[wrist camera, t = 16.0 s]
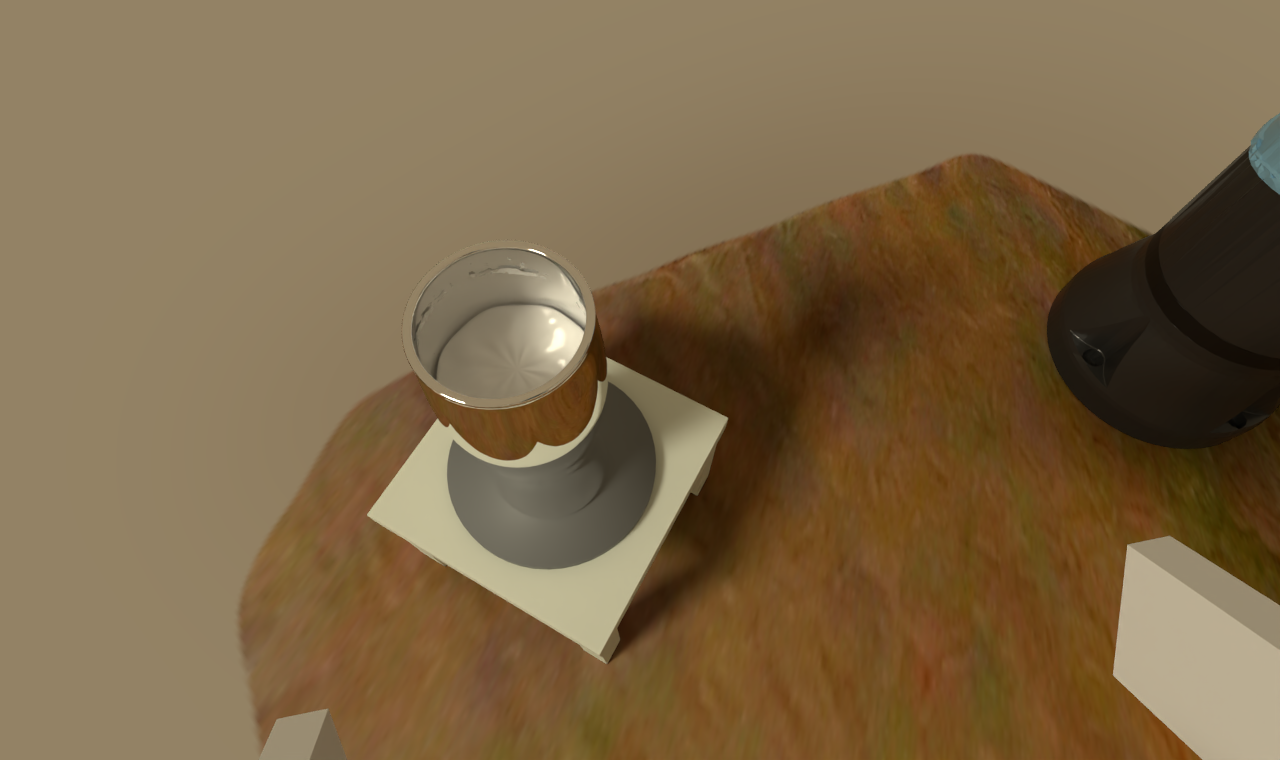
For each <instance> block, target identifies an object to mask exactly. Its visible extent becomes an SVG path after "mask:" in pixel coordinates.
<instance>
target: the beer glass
mask: <svg viewBox="0 0 1280 760" xmlns="http://www.w3.org/2000/svg"><path fill="white" fill-rule="evenodd" d="M402 343H403V348H404V352H405V355H406V358H407V360H408V362H409V364H410V366H411V368H412V369H413V371H414V372H415V374H416V377H417V379H418V381H419V384H420V386H421V388H422V390H423V392H424V394H425V397H426V399H427V401H428V403H429V404H430V406H431V408H432V410H433V411H434V413H435V415H436V416H437V418H438V420H439V421H440V423H441V424H442V425H443V427H444V428H445V429H446V431H447V432H448V433H449V434H450V436H451V437H452V438H453V439H454V441H455V442H456V443H457V444H458V445H459V446H460V447H461V448H463V449H464V450H465V451H466V452H467V453H469V454H470V455H471V456H472V457H473V458H475V459H476V460H477V461H479V462H480V463H482V464H483V465H485V466H487V467H488V468H490V469H491V470H492V475H493V479H494V483H495V485H496V488H497V490H498V492H499V494H500V495H501V497H502V498H503V499H504V500H505V501H506V502H507V503H508V504H509V505H510V506H511V507H513V508H514V509H515V510H517V511H519V512H521V513H523V514H525V515H527V516H530V517H534V518H539V519H555V518H561V517H565V516H568V515H570V514H573V513H575V512H577V511H578V510H580V509H582V508H583V507H584V506H586V505H587V504H588V503H589V502H590V501H591V500H592V499H593V498H594V497H595V496H596V494H597V493H598V492H599V490H600V488H601V487H602V485H603V482H604V480H605V477H606V474H607V469H608V454H607V449H606V445H605V442H604V440H603V437H602V435H601V434H600V432H599V428H600V425H601V422H602V418H603V415H604V410H605V404H606V399H607V392H608V371H607V359H606V353H605V347H604V341H603V337H602V333H601V329H600V325H599V322H598V318H597V315H596V311H595V304H594V299H593V296H592V293H591V290H590V288H589V286H588V284H587V282H586V281H585V279H584V277H583V276H582V275H581V273H580V272H579V271H578V270H577V268H576V267H575V266H574V265H573V264H572V263H570V262H569V261H568V260H567V259H565V258H564V257H563V256H561V255H560V254H558V253H556V252H555V251H552V250H550V249H548V248H546V247H543V246H540V245H537V244H533V243H530V242H524V241H517V240H497V241H489V242H483V243H479V244H476V245H472V246H469V247H466V248H464V249H461V250H459V251H457V252H455V253H453V254H451V255H449V256H448V257H446V258H445V259H443V260H442V261H440V262H439V263H438V264H436V265H435V266H434V267H433V268H432V269H431V270H429V272H428V273H426V274H425V276H424V277H423V278H422V279H421V280H420V281H419V283H418V284H417V286H416V287H415V289H414V290H413V292H412V294H411V296H410V298H409V300H408V302H407V305H406V307H405V311H404V314H403V319H402Z"/></svg>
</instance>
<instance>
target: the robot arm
mask: <svg viewBox="0 0 1280 760" xmlns="http://www.w3.org/2000/svg"><path fill="white" fill-rule="evenodd" d="M1047 337H1048V344H1049V348H1050V352H1051V355H1052V358H1053V361H1054V363H1055V366H1056V368H1057V370H1058V372H1059V374H1060V375H1061V377H1062V379H1063V380H1064V382H1065V383H1066V385H1067V386H1068V387H1069V389H1070V390H1071V391H1072V392H1073V394H1074V395H1075V396H1076V397H1077V398H1078V399H1079V400H1080V401H1081V402H1082V403H1083V404H1084V405H1085V406H1086V407H1087V408H1088V409H1089V410H1090V411H1091V412H1093V413H1094V414H1095V415H1096V416H1098V417H1099V418H1100V419H1102V420H1103V421H1105V422H1106V423H1108V424H1109V425H1111V426H1112V427H1114V428H1116V429H1118V430H1120V431H1121V432H1123V433H1125V434H1127V435H1130V436H1132V437H1134V438H1137V439H1139V440H1142V441H1145V442H1148V443H1152V444H1155V445H1160V446H1164V447H1171V448H1180V449H1195V448H1204V447H1210V446H1214V445H1217V444H1221V443H1223V442H1226V441H1228V440H1230V439H1232V438H1234V437H1236V436H1238V435H1240V434H1242V433H1245V432H1247V431H1249V430H1251V429H1252V428H1254V427H1256V426H1257V425H1259V424H1260V423H1262V422H1263V421H1264V420H1265V419H1267V418H1268V417H1269V416H1270V415H1271V414H1272V413H1273V412H1274V411H1275V410H1276V408H1277V407H1278V406H1279V405H1280V113H1279V114H1278V115H1276V116H1275V117H1273V118H1272V119H1270V120H1269V121H1268V122H1267V123H1266V124H1264V125H1263V127H1262V128H1261V129H1260V130H1259V131H1258V132H1257V133H1256V135H1255V136H1254V138H1253V139H1252V140H1251V146H1249V147H1248V148H1247V149H1246V150H1245V151H1244V152H1243V153H1242V154H1241V155H1240V156H1239V157H1238V158H1236V159H1235V160H1234V161H1233V162H1232V163H1231V164H1230V165H1229V166H1228V167H1227V168H1226V169H1224V170H1223V171H1222V172H1221V173H1220V174H1219V175H1218V176H1217V177H1216V178H1215V179H1214V180H1212V181H1211V182H1210V183H1209V184H1208V185H1207V186H1206V187H1205V188H1204V189H1203V190H1202V191H1201V192H1199V193H1198V194H1197V195H1196V196H1195V197H1194V198H1193V199H1192V200H1191V201H1190V202H1189V203H1188V204H1187V205H1185V206H1184V207H1183V208H1182V209H1181V210H1180V211H1179V212H1178V213H1177V214H1176V215H1175V216H1173V218H1172V219H1171V220H1170V221H1169V222H1168V223H1167V224H1166V225H1164V226H1163V227H1162V228H1161V229H1160V230H1159V231H1158V232H1157V233H1155V234H1153V235H1151V236H1148V237H1146V238H1144V239H1141V240H1139V241H1137V242H1135V243H1132V244H1130V245H1128V246H1126V247H1123V248H1121V249H1119V250H1117V251H1115V252H1113V253H1111V254H1108V255H1105V256H1103V257H1101V258H1099V259H1097V260H1095V261H1093V262H1092V263H1090V264H1089V265H1087V266H1086V267H1084V268H1083V269H1082V270H1081V271H1079V272H1078V273H1077V274H1076V275H1075V276H1074V277H1073V278H1072V280H1071V281H1070V282H1069V283H1068V284H1067V285H1066V286H1065V287H1064V288H1063V289H1062V290H1061V291H1060V292H1059V294H1058V295H1057V297H1056V298H1055V300H1054V302H1053V304H1052V306H1051V309H1050V312H1049V317H1048V323H1047ZM1113 676H1114V677H1115V678H1116V679H1117V680H1118V681H1120V682H1121V683H1122V684H1123V685H1124V686H1125V687H1126V688H1127V689H1128V690H1129V691H1130V692H1131V693H1132V694H1133V695H1134V696H1135V697H1137V698H1138V699H1139V700H1140V701H1141V702H1142V703H1143V704H1144V705H1145V706H1146V707H1147V708H1148V709H1149V710H1150V711H1151V712H1153V713H1154V714H1155V715H1156V716H1157V717H1158V718H1159V719H1160V720H1161V721H1162V722H1163V723H1164V724H1165V725H1166V726H1167V727H1168V728H1170V729H1171V730H1172V731H1173V732H1174V733H1175V734H1176V735H1177V736H1178V737H1179V738H1180V739H1181V740H1182V741H1183V742H1184V743H1186V744H1187V745H1188V746H1189V747H1190V748H1191V749H1192V750H1193V751H1194V752H1195V753H1196V754H1197V755H1198V756H1199V757H1200V758H1201V759H1203V760H1280V605H1278V604H1277V603H1275V602H1273V601H1272V600H1270V599H1269V598H1267V597H1265V596H1264V595H1262V594H1261V593H1259V592H1258V591H1256V590H1254V589H1253V588H1251V587H1250V586H1248V585H1247V584H1245V583H1243V582H1242V581H1240V580H1239V579H1237V578H1235V577H1234V576H1232V575H1231V574H1229V573H1228V572H1226V571H1224V570H1223V569H1221V568H1220V567H1218V566H1217V565H1215V564H1213V563H1212V562H1210V561H1209V560H1207V559H1205V558H1204V557H1202V556H1201V555H1199V554H1198V553H1196V552H1194V551H1193V550H1191V549H1190V548H1188V547H1187V546H1185V545H1183V544H1182V543H1180V542H1179V541H1177V540H1175V539H1174V538H1172V537H1171V536H1167V537H1162V538H1157V539H1153V540H1148V541H1143V542H1138V543H1133V544H1128V545H1127V554H1126V563H1125V572H1124V581H1123V590H1122V599H1121V608H1120V617H1119V626H1118V635H1117V644H1116V653H1115V662H1114V671H1113ZM259 760H347V758H346V756H345V753H344V750H343V747H342V745H341V742H340V739H339V736H338V734H337V731H336V728H335V725H334V723H333V720H332V717H331V715H330V712H329V709H324V710H319V711H314V712H309V713H304V714H300V715H295V716H290V717H285V718H280V719H277V720H276V722H275V724H274V727H273V729H272V731H271V733H270V736H269V738H268V740H267V742H266V744H265V747H264V749H263V751H262V753H261V756H260V758H259Z"/></svg>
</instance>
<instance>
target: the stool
mask: <svg viewBox="0 0 1280 760" xmlns="http://www.w3.org/2000/svg"><path fill="white" fill-rule="evenodd" d="M606 359H607V371H608V392H607V399H606V404H605V410H604V415H603V418H602V422H601V425H600V428H599V432H600V434H601V435H602V437H603V440H604V442H605V445H606V449H607V454H608V469H607V474H606V477H605V480H604V482H603V485H602V487H601V488H600V490H599V492H598V493H597V494H596V496H595V497H594V498H593V499H592V500H591V501H590V502H589V503H588V504H587V505H586V506H584V507H583V508H582V509H580V510H578V511H577V512H575V513H573V514H570V515H568V516H565V517H561V518H555V519H539V518H534V517H530V516H527V515H525V514H523V513H521V512H519V511H517V510H515V509H514V508H513V507H511V506H510V505H509V504H508V503H507V502H506V501H505V500H504V499H503V498H502V497H501V495H500V494H499V492H498V490H497V488H496V485H495V483H494V479H493V475H492V470H491V469H490V468H488V467H487V466H485V465H483V464H482V463H480V462H479V461H477V460H476V459H475V458H473V457H472V456H471V455H470V454H469V453H467V452H466V451H465V450H464V449H463V448H461V447H460V446H459V445H458V444H457V443H456V442H455V441H454V439H453V438H452V437H451V436H450V434H449V433H448V432H447V431H446V429H445V428H444V427H443V425H442V424H441V423H440V421H439V420H438V419H437V420H436V421H435V423H434V424H433V426H432V427H431V428H430V430H429V431H428V432H427V434H426V435H425V436H424V438H423V439H422V441H421V442H420V443H419V445H418V446H417V447H416V449H415V450H414V451H413V453H412V454H411V456H410V457H409V458H408V460H407V461H406V462H405V464H404V465H403V466H402V468H401V469H400V471H399V472H398V473H397V475H396V476H395V477H394V479H393V480H392V481H391V483H390V484H389V486H388V487H387V488H386V490H385V491H384V492H383V494H382V495H381V496H380V498H379V499H378V501H377V502H376V503H375V505H374V506H373V507H372V509H371V510H370V511H369V513H368V514H367V516H369V517H370V518H371V519H373V520H374V521H375V522H377V523H378V524H380V525H382V526H383V527H385V528H387V529H388V530H390V531H392V532H393V533H395V534H397V535H398V536H400V537H402V538H403V539H405V540H407V541H408V542H410V543H411V544H412V545H414V546H415V547H416V548H418V549H419V550H420V551H421V552H423V553H424V554H425V555H427V556H429V557H430V558H432V559H434V560H435V561H437V562H439V563H440V564H442V565H444V566H446V565H448V566H450V567H451V568H453V569H455V570H456V571H458V572H460V573H461V574H463V575H465V576H466V577H468V578H470V579H471V580H473V581H475V582H476V583H478V584H480V585H481V586H483V587H485V588H486V589H488V590H490V591H491V592H493V593H495V594H496V595H498V596H500V597H501V598H503V599H505V600H506V601H508V602H509V603H511V604H513V605H514V606H516V607H518V608H519V609H521V610H523V611H524V612H526V613H528V614H529V615H531V616H533V617H534V618H536V619H538V620H539V621H541V622H543V623H544V624H546V625H548V626H549V627H551V628H553V629H554V630H556V631H558V632H559V633H561V634H563V635H564V636H566V637H568V638H569V639H571V640H573V641H574V642H576V643H577V644H579V645H580V646H581V647H582V648H583V649H584V651H586V652H588V653H589V654H591V655H593V656H594V657H596V658H598V659H599V660H601V661H603V662H604V663H606V664H608V662H609V660H610V658H611V656H612V654H613V652H614V651H615V649H616V647H617V645H618V643H619V641H620V637H619V633H618V629H617V627H618V625H619V624H620V622H621V620H622V618H623V616H624V614H625V613H626V611H627V609H628V607H629V605H630V603H631V601H632V600H633V598H634V596H635V594H636V592H637V590H638V589H639V587H640V585H641V583H642V581H643V579H644V578H645V576H646V574H647V572H648V570H649V568H650V566H651V565H652V563H653V561H654V559H655V557H656V555H657V554H658V552H659V550H660V548H661V546H662V544H663V542H664V541H665V539H666V537H667V535H668V533H669V531H670V530H671V528H672V526H673V524H674V522H675V520H676V518H677V517H678V515H679V513H680V511H681V509H682V507H683V506H684V504H685V502H686V500H687V498H688V496H689V494H690V493H693V494H695V495H697V496H698V494H699V492H700V490H701V488H702V486H703V485H704V483H705V481H706V479H707V477H708V475H709V471H710V467H711V464H712V460H713V456H714V452H715V449H716V445H717V443H718V441H719V439H720V437H721V435H722V434H723V432H724V430H725V428H726V424H727V421H728V418H727V417H725V416H723V415H721V414H719V413H717V412H715V411H713V410H711V409H709V408H707V407H705V406H703V405H701V404H699V403H697V402H695V401H693V400H691V399H689V398H687V397H685V396H683V395H681V394H679V393H677V392H675V391H673V390H671V389H669V388H667V387H665V386H663V385H661V384H659V383H657V382H655V381H653V380H651V379H649V378H647V377H645V376H643V375H641V374H639V373H637V372H635V371H633V370H631V369H629V368H627V367H625V366H623V365H621V364H619V363H617V362H615V361H613V360H611V359H609V358H607V357H606Z"/></svg>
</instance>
